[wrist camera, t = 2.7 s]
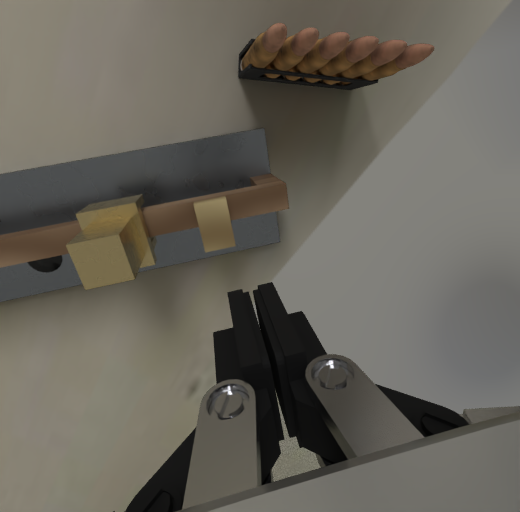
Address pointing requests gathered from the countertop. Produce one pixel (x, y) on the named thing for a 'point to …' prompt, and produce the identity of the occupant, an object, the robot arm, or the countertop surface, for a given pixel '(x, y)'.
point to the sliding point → (111, 242)
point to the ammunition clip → (325, 58)
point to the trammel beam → (162, 221)
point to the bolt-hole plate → (130, 184)
